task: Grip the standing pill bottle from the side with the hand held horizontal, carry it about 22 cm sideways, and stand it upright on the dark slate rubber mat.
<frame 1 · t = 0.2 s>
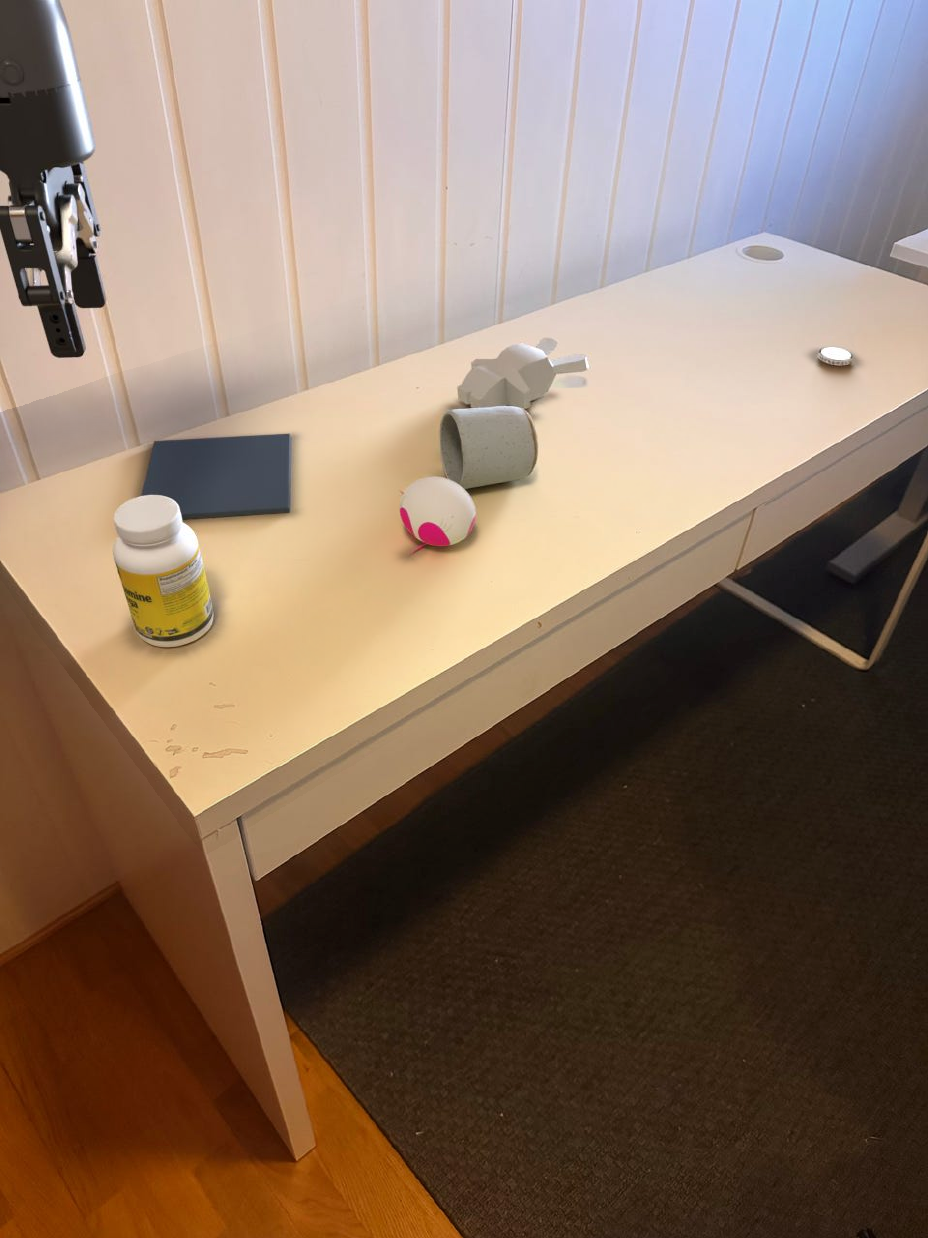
hand: (81, 329, 65), 21 cm above the table, tool pointing down, fingers open, 8 cm apart
pill bottle: (176, 626, 73), on the table
white bottle cap: (834, 359, 112), on the table
stress ball: (433, 542, 82), on the table
ceramic mug: (479, 473, 91), on the table
bunny figurine: (518, 396, 103), on the table
mat: (219, 477, 89), on the table
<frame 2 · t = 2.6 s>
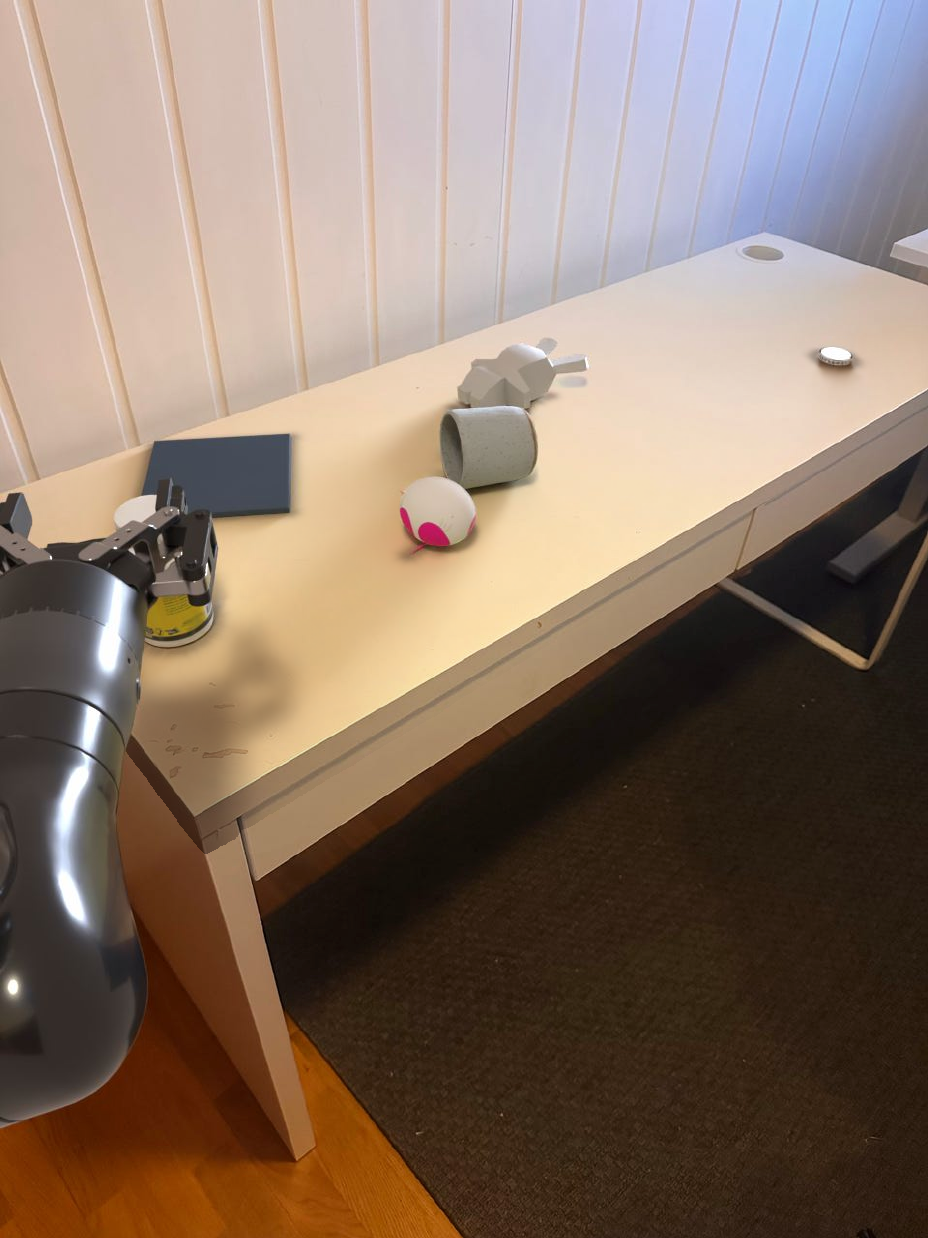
hand: (95, 498, 54), 18 cm above the table, tool horizontal, fingers open, 8 cm apart
nothing on the table moved.
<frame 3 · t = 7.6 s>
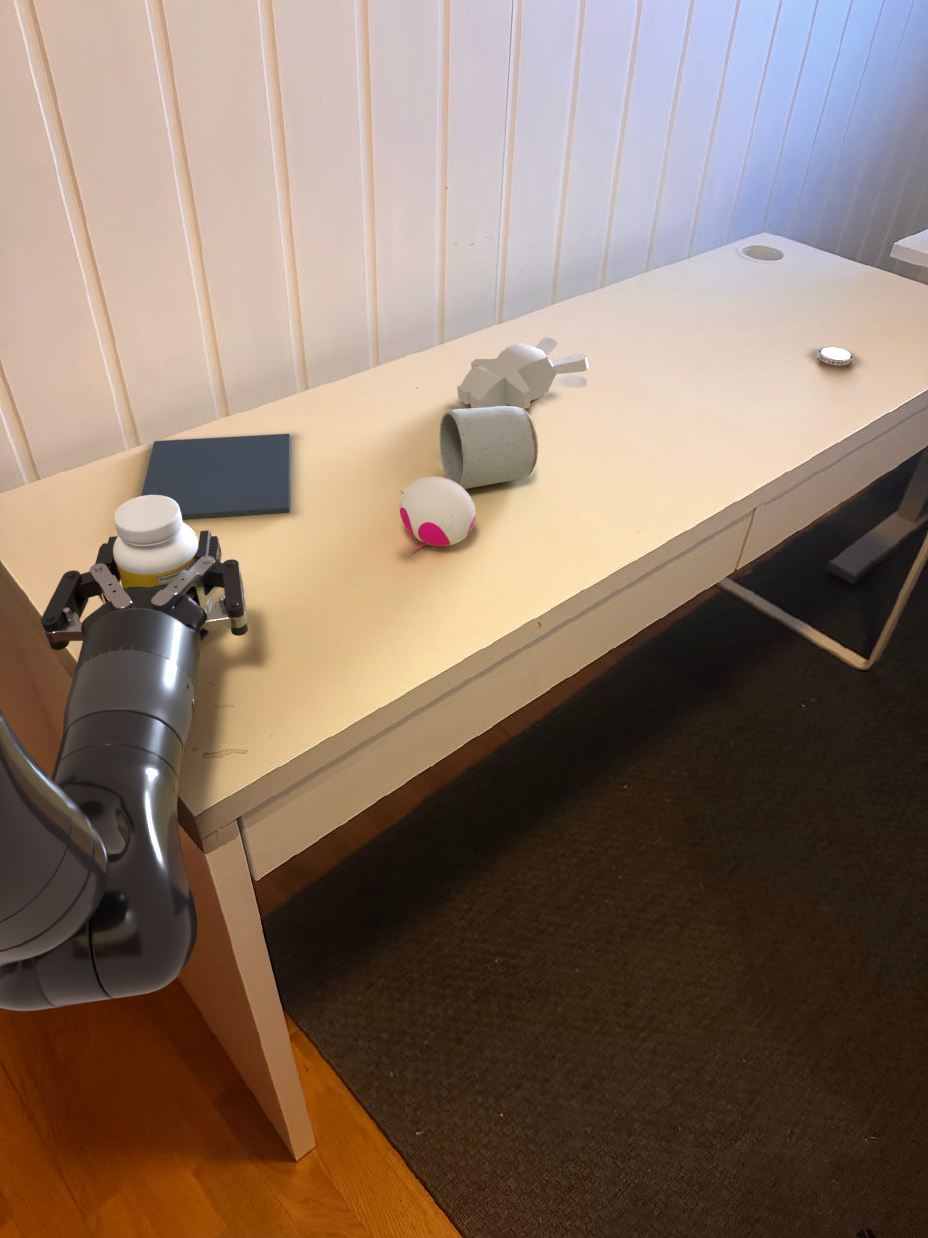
hand: (162, 542, 70), 7 cm above the table, tool horizontal, fingers closed on pill bottle, 6 cm apart
pill bottle: (176, 626, 73), on the table, touching gripper
everything else where it was.
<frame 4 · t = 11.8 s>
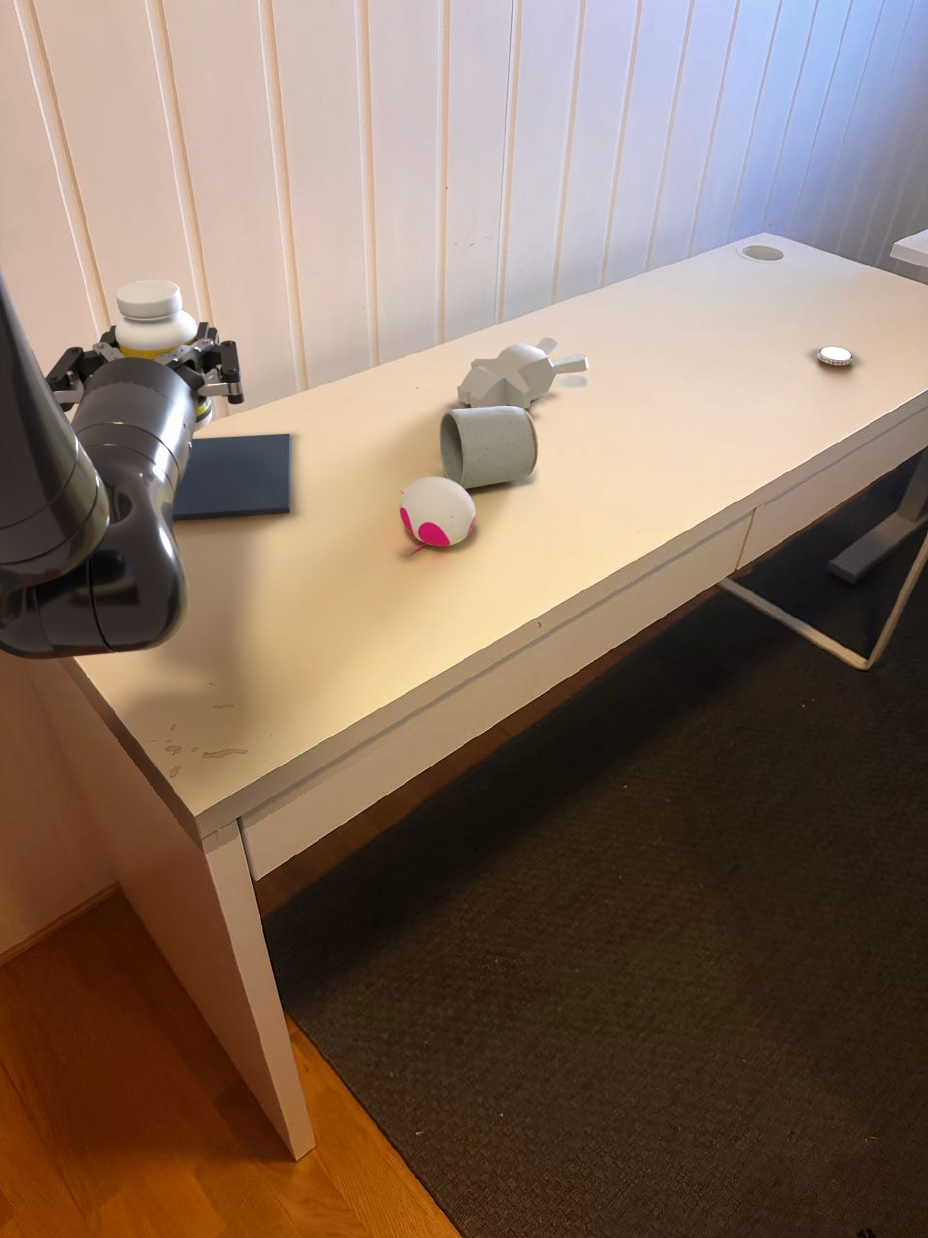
hand: (163, 335, 72), 18 cm above the table, tool horizontal, fingers closed on pill bottle, 6 cm apart
pill bottle: (176, 423, 75), point 11 cm above the table, touching gripper
everything else where it was.
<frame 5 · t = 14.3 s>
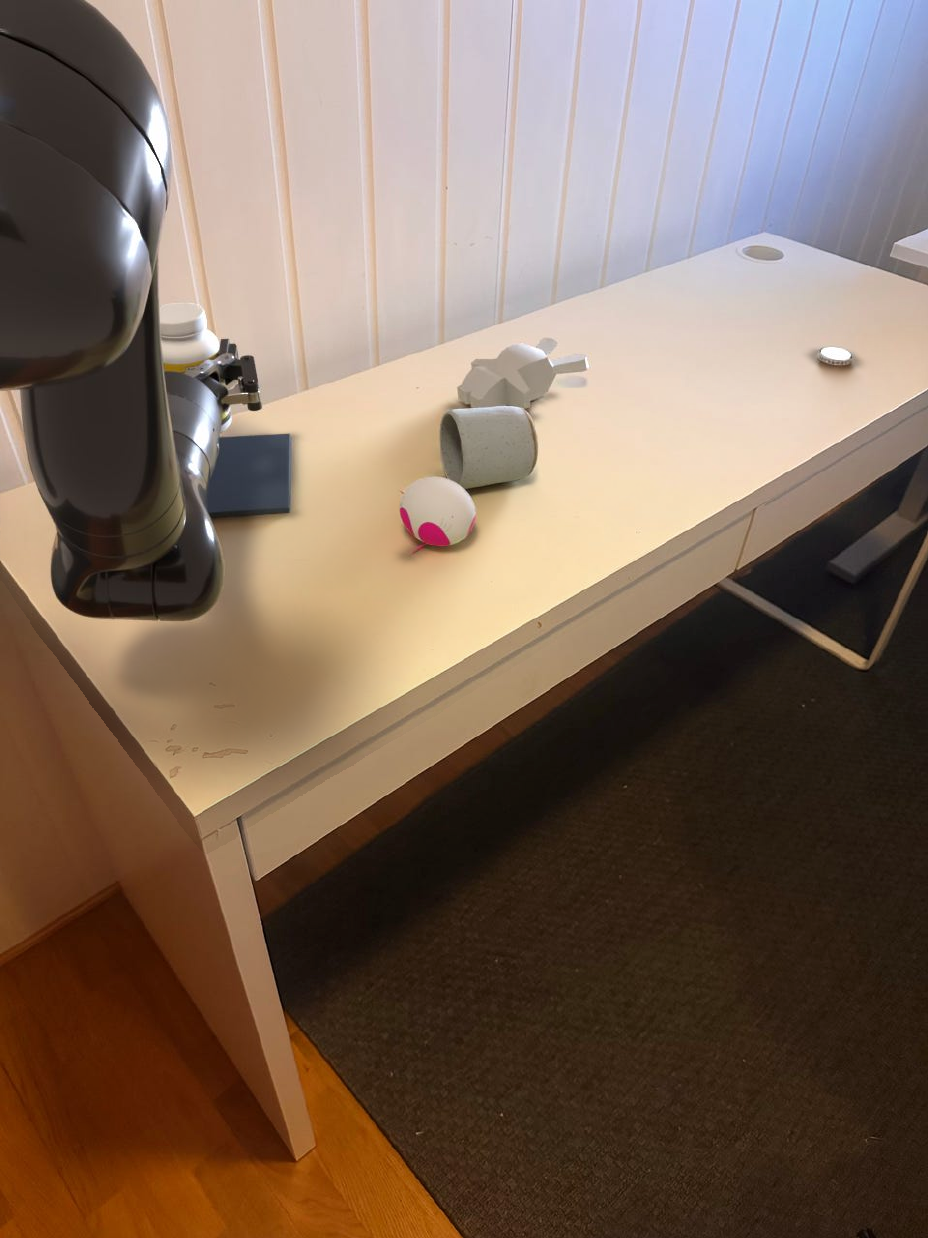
hand: (188, 350, 82), 12 cm above the table, tool horizontal, fingers closed on pill bottle, 6 cm apart
pill bottle: (199, 427, 85), point 6 cm above the table, touching gripper
everything else where it was.
when the fingers open (7 cm above the table, at t = 16.3 s): pill bottle stays where it is, resting on mat.
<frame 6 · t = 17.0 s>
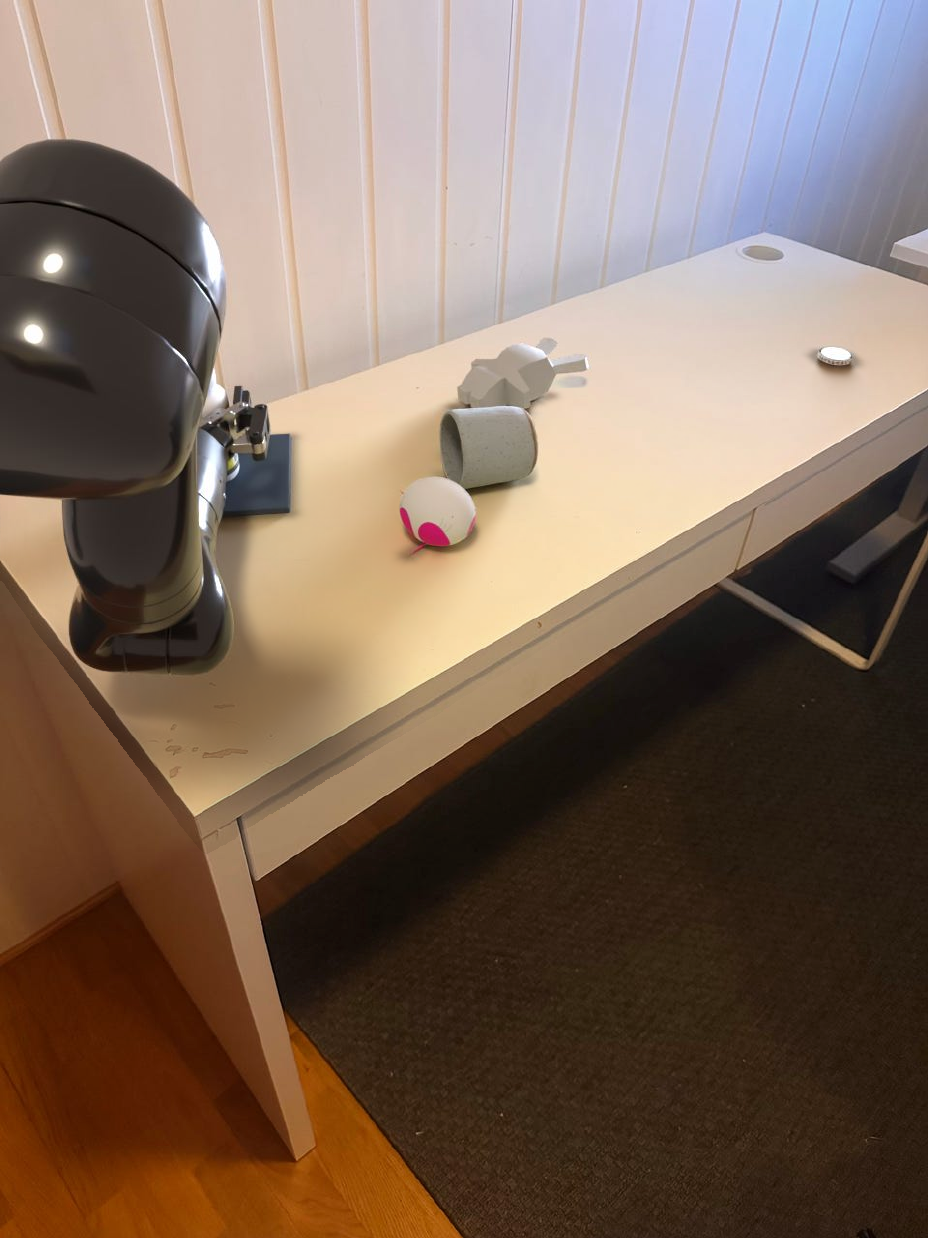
hand: (194, 396, 85), 8 cm above the table, tool horizontal, fingers open, 8 cm apart
pill bottle: (209, 475, 89), resting on mat
everything else where it was.
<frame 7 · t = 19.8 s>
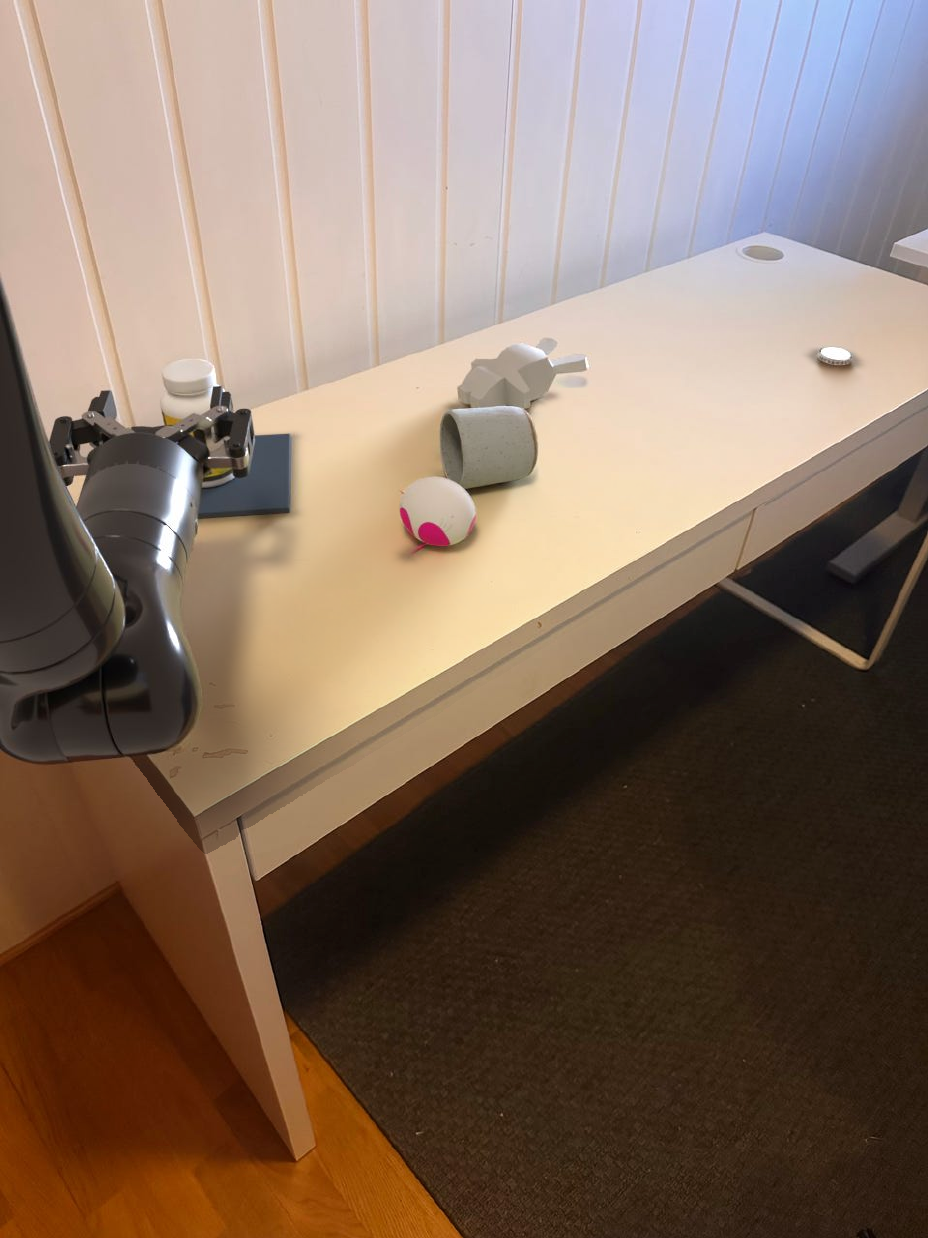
hand: (164, 398, 71), 14 cm above the table, tool horizontal, fingers open, 8 cm apart
nothing on the table moved.
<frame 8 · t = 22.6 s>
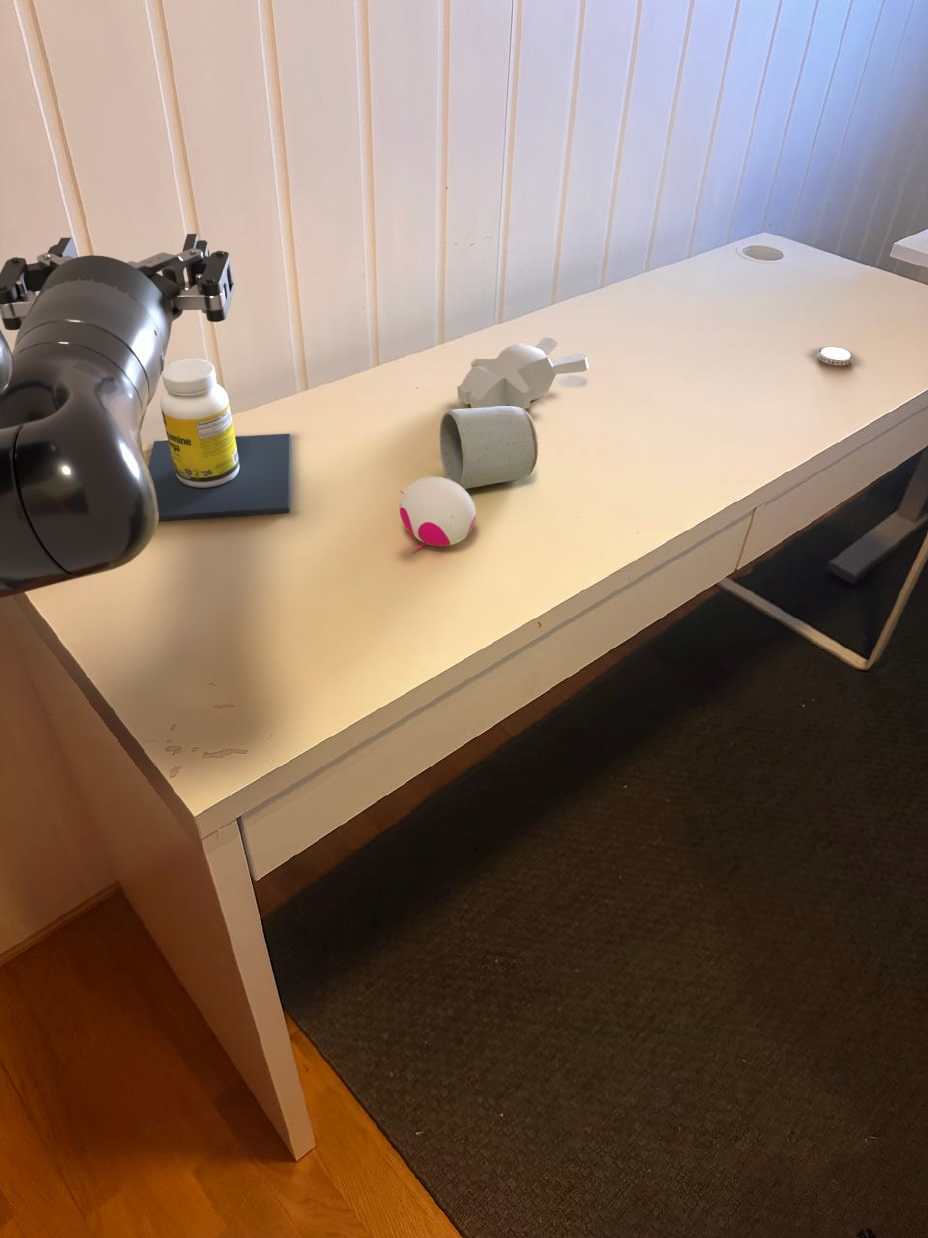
hand: (133, 249, 64), 26 cm above the table, tool horizontal, fingers open, 8 cm apart
nothing on the table moved.
at the end: pill bottle inside the target area on the mat (0.9 cm from its centre), point 0.4 cm above the mat's base; pill bottle tilted 0°; the gripper is holding nothing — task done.
